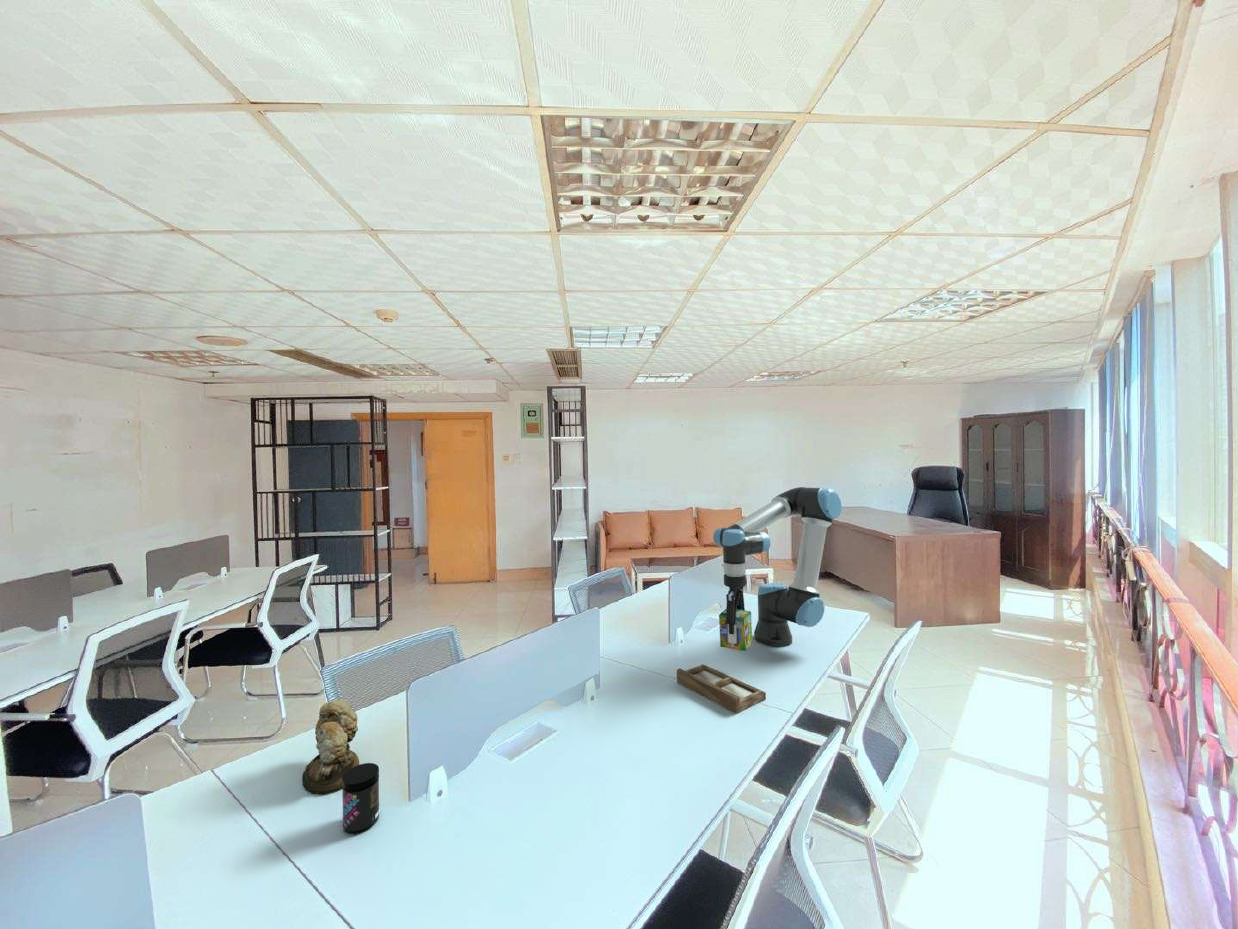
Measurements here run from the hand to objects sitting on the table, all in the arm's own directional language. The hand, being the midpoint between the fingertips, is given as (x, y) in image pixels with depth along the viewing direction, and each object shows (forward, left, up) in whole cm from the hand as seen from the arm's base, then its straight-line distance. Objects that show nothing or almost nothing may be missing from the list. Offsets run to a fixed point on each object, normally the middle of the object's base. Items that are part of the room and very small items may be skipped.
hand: (736, 637), depth 168 cm
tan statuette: (+121, -24, -12) cm, 124 cm away
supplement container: (+118, -1, -12) cm, 118 cm away
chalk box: (0, 0, -3) cm, 3 cm away
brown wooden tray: (+16, +6, -12) cm, 21 cm away
